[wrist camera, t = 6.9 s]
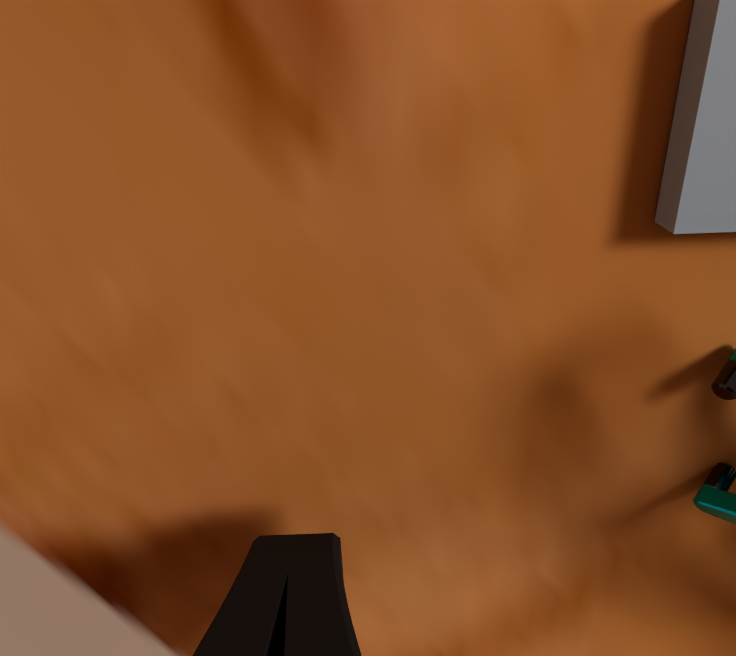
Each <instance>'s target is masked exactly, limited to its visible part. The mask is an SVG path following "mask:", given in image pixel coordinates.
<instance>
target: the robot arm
mask: <svg viewBox="0 0 736 656" xmlns="http://www.w3.org/2000/svg"><path fill="white" fill-rule="evenodd" d="M193 656H361V652H360V649H359V645H358V642H357V638H356V635H355V631H354V628H353V624H352V620H351V616H350V612H349V608H348V603H347V598H346V594H345V589H344V581H343V568H342V555H341V541H340V538H339V537H338V536H336V535H335V534H334V533H322V534H295V535H268V536H259V537H258V538H257V539H256V540H254V541H253V544H252V546H251V548H250V550H249V553H248V555H247V557H246V559H245V561H244V563H243V565H242V567H241V569H240V571H239V573H238V575H237V577H236V579H235V581H234V583H233V585H232V587H231V589H230V591H229V593H228V595H227V596H226V598H225V600H224V602H223V604H222V606H221V608H220V609H219V611H218V613H217V615H216V616H215V618H214V620H213V622H212V623H211V625H210V627H209V628H208V630H207V632H206V634H205V635H204V637H203V639H202V640H201V642H200V644H199V646H198V647H197V649H196V651H195V652H194V654H193Z"/></svg>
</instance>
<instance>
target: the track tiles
mask: <svg viewBox="0 0 736 656" xmlns="http://www.w3.org/2000/svg"><path fill="white" fill-rule="evenodd" d="M655 222H656V223H657V224H659V225H660V226H662V227H663V228H665V229H666V230H668V231H669V232H671V233H673V234H690V233H717V232H736V0H695V1H694V6H693V12H692V17H691V23H690V28H689V34H688V40H687V45H686V51H685V56H684V62H683V67H682V73H681V78H680V84H679V89H678V95H677V100H676V106H675V111H674V117H673V122H672V128H671V133H670V139H669V144H668V150H667V155H666V161H665V166H664V172H663V177H662V183H661V188H660V194H659V199H658V205H657V210H656V216H655Z"/></svg>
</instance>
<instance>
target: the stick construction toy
mask: <svg viewBox="0 0 736 656" xmlns="http://www.w3.org/2000/svg"><path fill="white" fill-rule="evenodd" d="M711 389H712V391H713V392H714V393H715V394H716V395H717V396H718V397H720V398H722V399H725V400H734V399H736V348H735V349H734V351H733V353H732V354H731V356H730V357H729V359H728V360H727V362H726V363H725V365H724V366H723V368H722V369H721V371H720V373H719V374H718V376H717V377H716V379H715V380H714V382H713V383H712V385H711ZM735 479H736V470H735V468H734V467H732V466H731V465H729V464H727V463H724V462H720V463H718V464H717V465H716V466H715V467H713V469H712V470H711V471H710V473H709V475H708V476H707V478H706V480H705V481H704V483H703V484H702V486H701V488H700V489H699V491H698V493H697V494H696V496H695V497H694V499H693V503H694V505H695V506H696V507H697V508H698V509H700V510H701V511H703V512H705V513H708V514H710V515H713V516H716V517H718V518H721V519H723V520H726V521H729V522H731V523H734V524H736V494H733V493H730V492H728V490H729V489H730V487H731V485H732V484H733V482H734V480H735Z"/></svg>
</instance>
